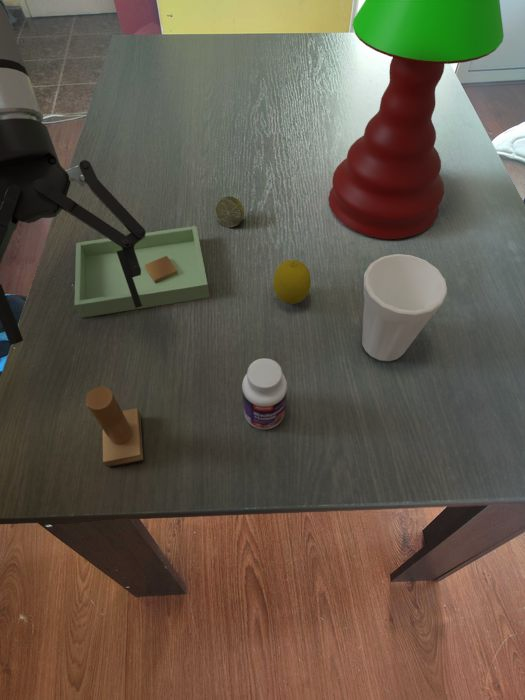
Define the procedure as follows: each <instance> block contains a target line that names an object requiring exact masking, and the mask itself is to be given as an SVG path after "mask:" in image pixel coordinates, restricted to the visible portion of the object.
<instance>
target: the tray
mask: <svg viewBox="0 0 525 700" xmlns="http://www.w3.org/2000/svg"><path fill="white" fill-rule="evenodd" d="M120 250H123V249H122V247H120V246H119V245H117V244H116V243H114V242H113V241H111V240H110V239H108V238H107V237H105V238H100V239H92V240H86V241H81V242H76V243H75V272H74V273H75V277H74V307H75V309H76V311H77V313H78V315H79V317H80V319H84V318H90V317H96V316H103V315H108V314H116V313H121V312H127V311H133V310H139V309H146V308H147V309H148V308H153V307H159V306H165V305H171V304H177V303H185V302H190V301H191V302H192V301H196V300H197V301H198V300H203V299H209V298H210V289H209V284H208V278H207V274H206V268H205V264H204V258H203V252H202V248H201V243H200V238H199V232H198V227H197V225H192V226H184V227H177V228H170V229H163V230H157V231H149V232H146V234H145V237H144V239H142V240H141V241H139V242H138V243H137V244H135V246H134V250H135V253H136V257H137V260H138V263H139V266H140V269H141V275H140V276H136V277H133V280H134V283H135V286H136V289H137V292H138V295H139V298H140V301H141V304H142V306H141V307H137V308H135V305H134V302H133V299H132V296H131V293H130V290H129V287H128V284H127V281H126V278H125V275H124V272H123V269H122V266H121V263H120V261H119V258H118V255H117V252H116V251H120ZM165 256H167V257H168V258H169V260H170V261H171V262H172V264H173V265H174V267H175V268H176V269H177V271H178V274H176V275H174V276H172V277H169V278H167V279H165V280H162V281H160V282H158V283H155V282H154V281H153V279H152V278H151V276H150V275H149V273H148V272H147V270H146V269H145V266H144V265H145V264H148V263H150V262H153V261H155V260H158V259H160V258H163V257H165Z"/></svg>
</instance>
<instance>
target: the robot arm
mask: <svg viewBox="0 0 525 700" xmlns="http://www.w3.org/2000/svg"><path fill="white" fill-rule="evenodd" d="M39 103H40V102H39V100H38V98H37V95H36V92H35V89H34V87H33V83H32V81H31V78H30V76H29V73H28V71H27V68H26V65H25V62H24V59H23V56H22V53H21V50H20V46H19V45H18V41H17V38H16V36H15V33H14V29H13V26H12V23H11V21H10V16H9V10H8V8H7V6H6V4H5V2H4V0H0V264H1V263H2V261H3V258H4V256H5V253H6V251H7V248H8V246H9V243H10V242H11V239H12V236H13V234H14V232H15V231H16V230H17V228H18V225H19V222H21V223H27V224H31V223H36V222H37V221H39V220H40V219H51V218H55V217H58V216H57V215H59V214H60V213H61V212H62V210H63V211H65V212H66V213H67V214H69V215H71V216H72V217H74V218H76V219H77V220H79V221H81V222H82V223H83V224H85V225H86V226H88V227H90V228H91V229H93V230H94V231H96V232H97V233H98V234H101V235H102V236H103V237H105V238H108V239H110V240H111V241H113V242H114V243H116V244H117V245H119V246H120V247H122V249H123V250H120V251H116V252H117V255H118V258H119V261H120V263H121V266H122V269H123V272H124V275H125V278H126V281H127V284H128V287H129V290H130V293H131V296H132V299H133V302H134V305H135V308H137V307H141V306H142V304H141V301H140V298H139V295H138V292H137V289H136V286H135V283H134V280H133V277H136V276H140V275H141V269H140V266H139V263H138V260H137V257H136V253H135V250H134V246H135V244H137V243H138V242H139V241H141V240H142V239H144V237H145V234H146V233H147V231H146V229H145V228H144V227H143V226H142V225H141V224H140V223H139V221H137V219H136V218H134V216H133V215H132V214H131V213H130V212H129V211H128V210H127V208H125V207H124V206H123V205H122V203H120V202H119V200H118V199H117V198H116V197H115V196H114V195H113V194H112V193H111V192H110V191H109V189H107V188H106V186H104V183H102V182H101V181H100V180H99V179H98V177H97V175H96V172H95V170H94V168H93V166H92V164H91V162H90V161H88V160H86V159H83V160H81V161H80V162H79V163H78V165H76V166H73V167H70V168H67V169H65V168H63V166H62V164H61V163H60V161H59V157H58V153H57V152H56V149H55V146H54V144H53V140H52V138H51V135H50V131H49V129H48V127H47V125H46V124H44V123H42V122H43V120H44V115H43V111H42V109H41V106H40V104H39ZM72 181H75V182H77V184H79V186H81V187H83V188H87V187H88V188H89V189H90V191H91V192H92V194H93V195H94V196H95V197H96V198H97V199H98V200H99V201H100V202H101V203H102V204H103V205H104V206H105V208H106V209H108V211H109V212H110V213H111V214H112V215H113V216H114V217H115V218H116V219H117V220H118V221H119V222H120V223H121V224H122V225H123V226H124V227H125V228H126V229H127V230H128V231H129V233H128V234H127V235H126V234H124V233H122V232H121V231H119V230H118V229H117V228H115V227H113V226H112V225H110V224H109V223H107V222H106V221H104V220H103V219H101V218H100V217H98V216H97V215H96V214H94V213H92V212H90V211H89V210H88V209H86V208H84V207H83V206H82V205H80V204H79V203H77V202H76V201H74V200H73V199H72V198H70V197H69V196H68V192H69V189H70V186H71V182H72ZM0 323H1V326H2V328H3V331H4V333H5V336H6V338H7V340H8V343H9V345H10V346H13V345H17V344H19V343H21V342H23V341H24V338H23V335H22V332H21V331H20V328H19V326H18V323H17V319H16V318H15V315H14V313H13V310H12V307H11V305H10V303H9V300H8V298H7V294H6V293H5V290H4V288H3V285H2V284H0Z"/></svg>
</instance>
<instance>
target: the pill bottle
mask: <svg viewBox="0 0 525 700" xmlns="http://www.w3.org/2000/svg"><path fill="white" fill-rule="evenodd" d="M241 392H242V394H241V395H242V404H243V405H242V407H243V409H242V410H243V415H244V418H245V420H246V421H247V423H248V424H249V425H250V426H251V427H254V428H256V429H258V430H270V429H273V428H275V427H277V426H278V425H280V423H281V422H282V421H283V419H284V417H285V413H286V403H287V392H288V382H287V379H286V376H285V374H284V373H283V370H282V367H281V366H280V364H279V363H278V362H277V361H275V360H274V359H271V358H266V357H265V358H264V357H263V358H258V359H256V360H254V361H252V362H251V363H250V364H249V366H248V368H247V373H245V375H244V377H243V379H242V385H241Z"/></svg>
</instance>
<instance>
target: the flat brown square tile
mask: <svg viewBox="0 0 525 700" xmlns="http://www.w3.org/2000/svg"><path fill="white" fill-rule="evenodd" d="M144 266H145V269H146V270H147V272H148V273H149V275H150V276H151V278H152V279H153V281H154V282H155V283H158V282H160V281H162V280H165V279H167V278H169V277H172V276H174V275H176V274H178V271H177V269H176V268H175V267H174V265H173V264H172V262H171V261H170V260H169V258H168V257H167V256H165V257H163V258H160V259H158V260H155V261H153V262H150V263H148V264H145V265H144Z"/></svg>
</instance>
